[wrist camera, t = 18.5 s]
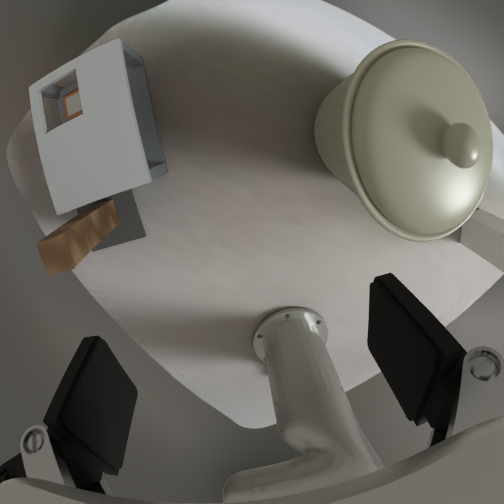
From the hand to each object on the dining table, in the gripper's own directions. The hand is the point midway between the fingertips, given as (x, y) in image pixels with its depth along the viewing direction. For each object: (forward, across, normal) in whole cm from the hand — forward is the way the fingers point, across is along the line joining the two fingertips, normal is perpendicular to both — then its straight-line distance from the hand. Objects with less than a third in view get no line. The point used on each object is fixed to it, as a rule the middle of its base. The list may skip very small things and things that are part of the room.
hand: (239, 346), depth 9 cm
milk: (+28, -42, +14) cm, 53 cm away
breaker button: (+27, +15, -16) cm, 35 cm away
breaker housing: (+28, +13, -12) cm, 33 cm away
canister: (+28, -18, -4) cm, 34 cm away
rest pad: (+28, +17, -1) cm, 33 cm away
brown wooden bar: (+28, +17, -1) cm, 33 cm away
